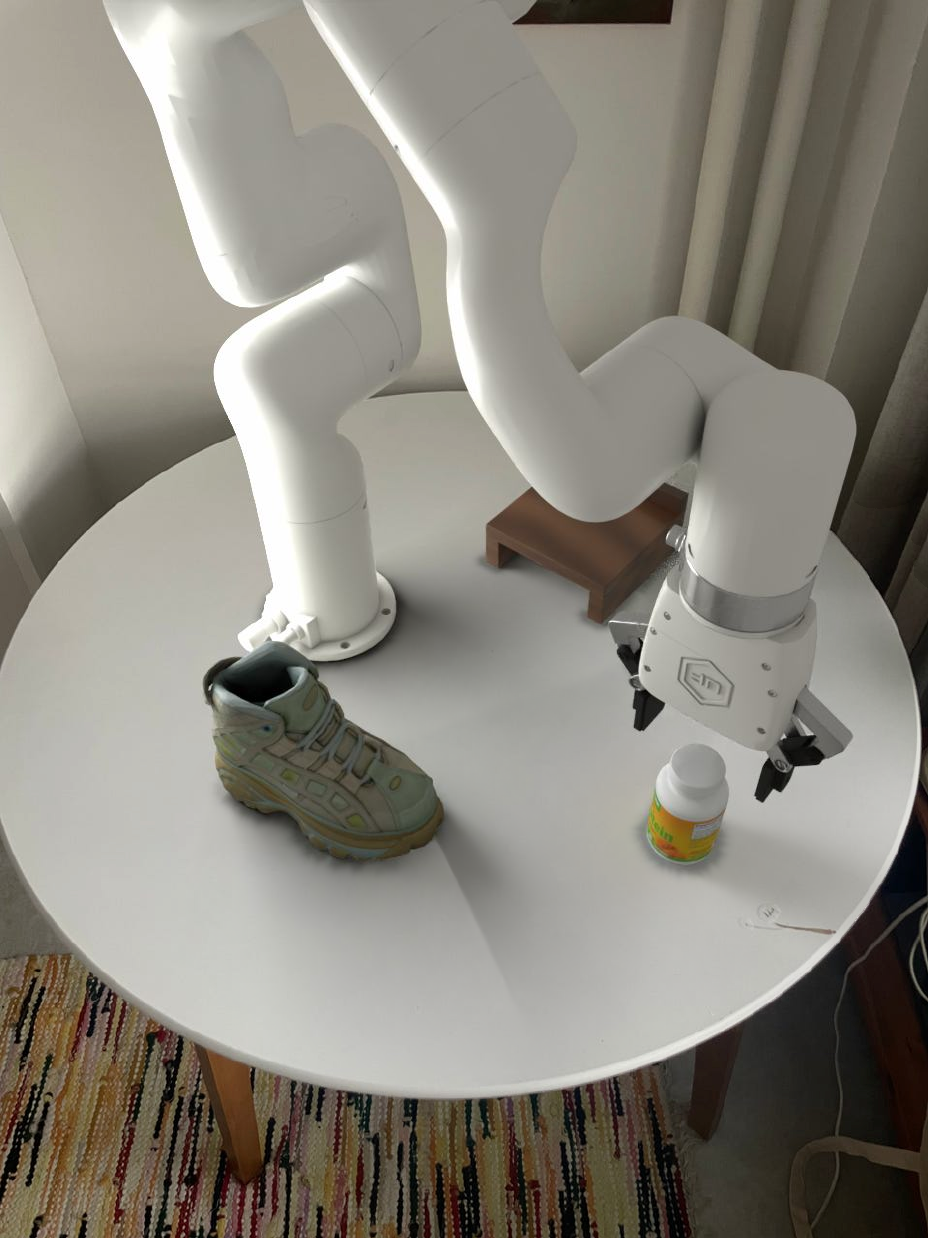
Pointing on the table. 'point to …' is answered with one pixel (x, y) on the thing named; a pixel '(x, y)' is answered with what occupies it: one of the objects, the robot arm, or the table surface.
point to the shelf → (590, 544)
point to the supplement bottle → (688, 805)
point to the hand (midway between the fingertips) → (706, 751)
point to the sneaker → (314, 759)
